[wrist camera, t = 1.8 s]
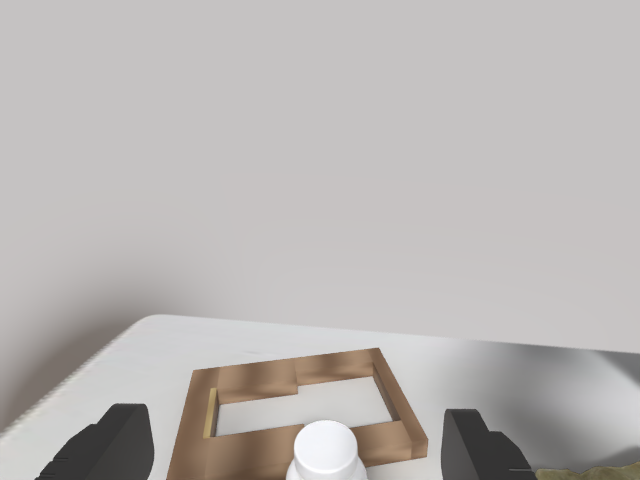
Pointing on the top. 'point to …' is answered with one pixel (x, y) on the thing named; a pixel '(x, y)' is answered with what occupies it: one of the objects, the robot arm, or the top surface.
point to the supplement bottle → (326, 453)
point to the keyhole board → (278, 443)
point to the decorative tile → (592, 473)
